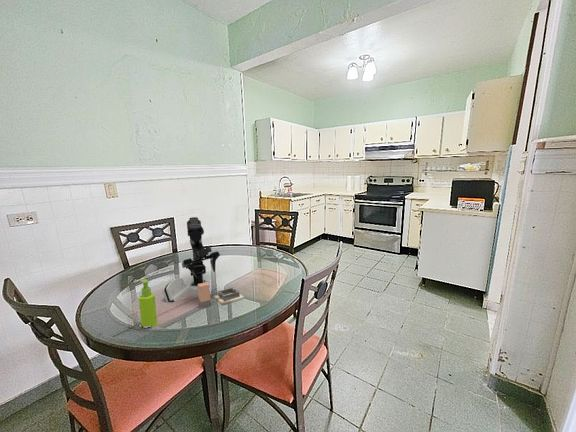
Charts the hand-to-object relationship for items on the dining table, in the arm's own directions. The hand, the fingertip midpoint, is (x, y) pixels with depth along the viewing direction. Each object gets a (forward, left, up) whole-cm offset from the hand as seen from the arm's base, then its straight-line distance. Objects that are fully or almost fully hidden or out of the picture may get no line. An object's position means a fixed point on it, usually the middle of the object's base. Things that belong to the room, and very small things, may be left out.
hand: (205, 274), depth 129 cm
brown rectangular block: (+5, 0, -14) cm, 15 cm away
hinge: (-7, -21, -14) cm, 26 cm away
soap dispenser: (+23, -18, -14) cm, 32 cm away
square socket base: (-3, +10, -14) cm, 18 cm away
